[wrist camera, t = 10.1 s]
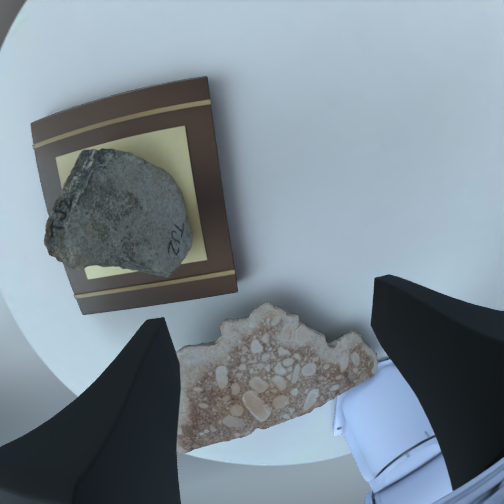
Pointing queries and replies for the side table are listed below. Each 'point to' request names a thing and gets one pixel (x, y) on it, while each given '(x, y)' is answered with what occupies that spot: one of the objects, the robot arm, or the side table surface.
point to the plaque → (161, 155)
